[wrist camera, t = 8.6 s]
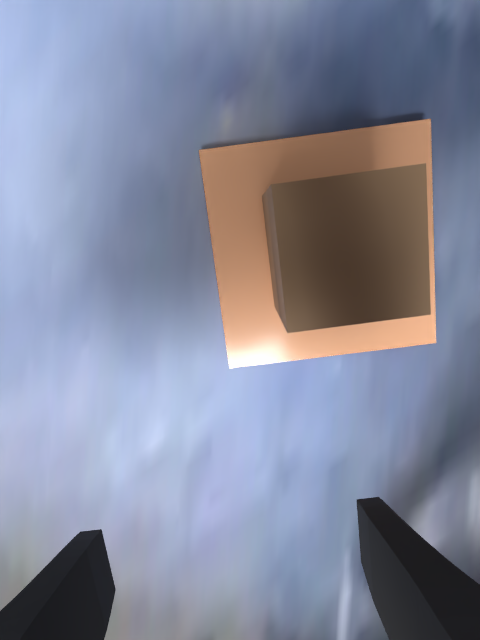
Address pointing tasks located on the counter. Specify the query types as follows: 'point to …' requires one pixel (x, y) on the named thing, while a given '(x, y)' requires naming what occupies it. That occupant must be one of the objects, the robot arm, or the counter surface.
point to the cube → (349, 248)
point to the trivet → (252, 250)
